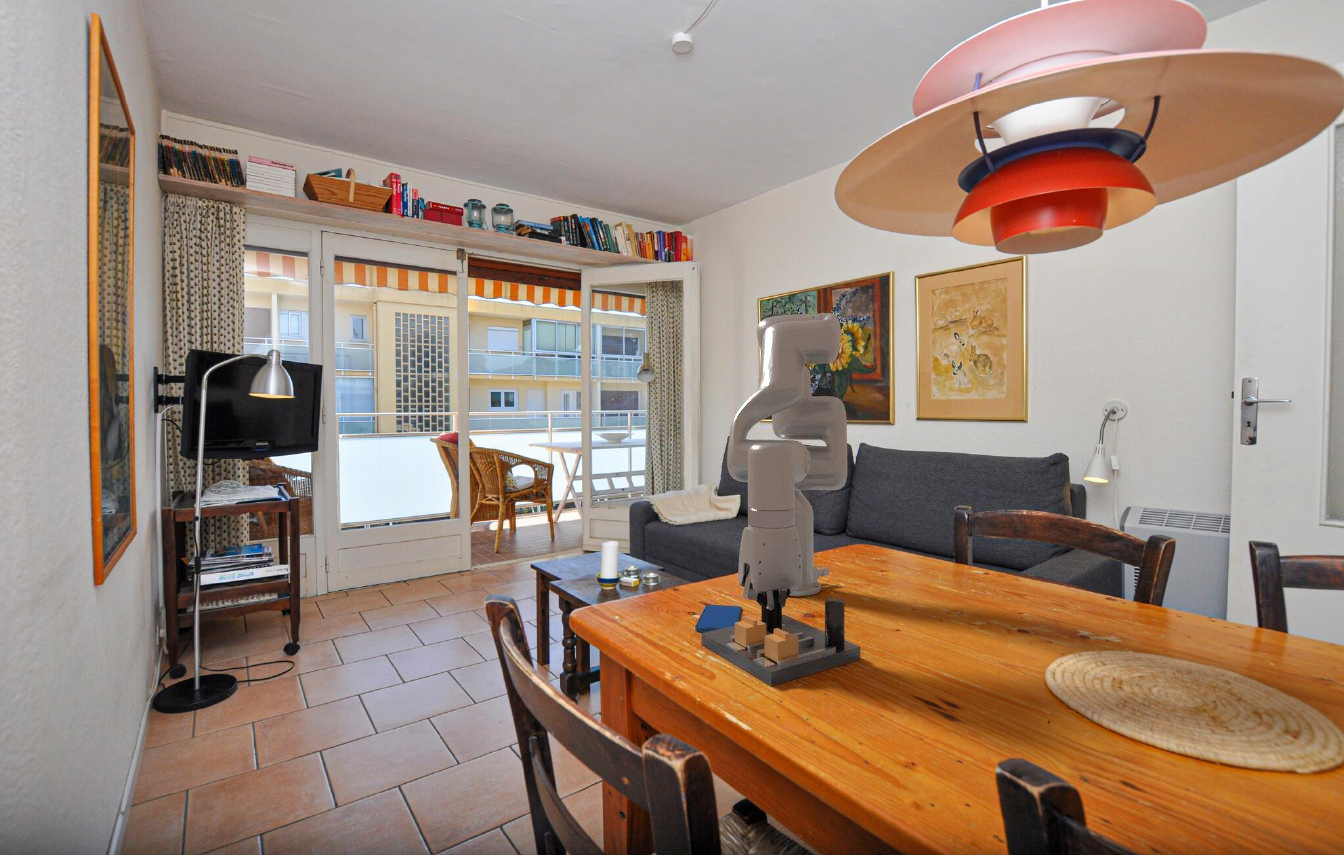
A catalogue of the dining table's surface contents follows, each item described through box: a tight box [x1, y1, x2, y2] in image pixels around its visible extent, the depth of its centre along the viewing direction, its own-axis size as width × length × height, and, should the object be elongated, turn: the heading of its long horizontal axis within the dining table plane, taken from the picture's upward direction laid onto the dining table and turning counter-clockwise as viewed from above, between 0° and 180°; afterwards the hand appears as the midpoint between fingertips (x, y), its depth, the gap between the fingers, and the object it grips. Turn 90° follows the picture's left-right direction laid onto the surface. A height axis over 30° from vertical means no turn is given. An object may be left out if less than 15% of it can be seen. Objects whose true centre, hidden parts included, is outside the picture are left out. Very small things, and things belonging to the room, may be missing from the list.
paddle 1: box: [735, 615, 766, 647], centre depth 96 cm, size 4×3×4 cm
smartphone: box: [694, 604, 743, 633], centre depth 113 cm, size 7×1×15 cm
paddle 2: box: [765, 628, 798, 662], centre depth 90 cm, size 4×3×4 cm
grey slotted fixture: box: [701, 598, 861, 687], centre depth 98 cm, size 18×19×9 cm
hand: (771, 630), depth 98 cm, fingers closed
